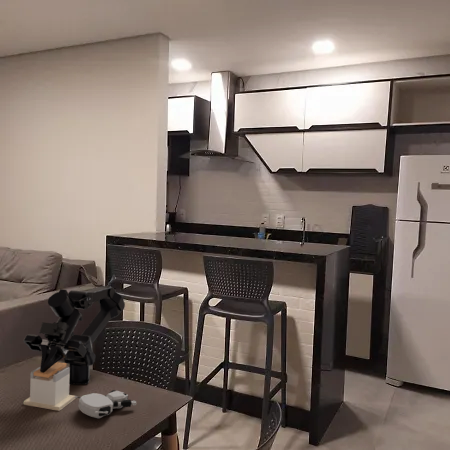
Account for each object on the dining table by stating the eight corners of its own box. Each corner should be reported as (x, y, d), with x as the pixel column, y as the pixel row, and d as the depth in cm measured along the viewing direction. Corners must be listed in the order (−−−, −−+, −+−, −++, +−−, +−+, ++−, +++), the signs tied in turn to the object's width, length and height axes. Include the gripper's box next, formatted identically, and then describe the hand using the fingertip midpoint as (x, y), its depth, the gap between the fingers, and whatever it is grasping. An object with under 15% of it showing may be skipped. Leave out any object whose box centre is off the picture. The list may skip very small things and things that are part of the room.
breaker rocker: (52, 366, 136) (52, 361, 136) (66, 368, 135) (66, 363, 135) (33, 378, 128) (33, 372, 128) (48, 380, 127) (48, 374, 126)
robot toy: (116, 398, 138) (70, 410, 127) (117, 384, 138) (72, 394, 127) (138, 413, 129) (92, 426, 119) (139, 398, 129) (93, 410, 119)
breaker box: (40, 393, 137) (41, 362, 137) (75, 398, 134) (75, 367, 134) (23, 404, 129) (24, 372, 129) (59, 410, 127) (60, 377, 126)
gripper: (28, 307, 134) (0, 354, 124) (83, 314, 130) (59, 363, 119) (43, 327, 142) (18, 372, 132) (95, 333, 138) (74, 381, 127)
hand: (41, 371), depth 127 cm, fingers closed, pressing on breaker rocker
